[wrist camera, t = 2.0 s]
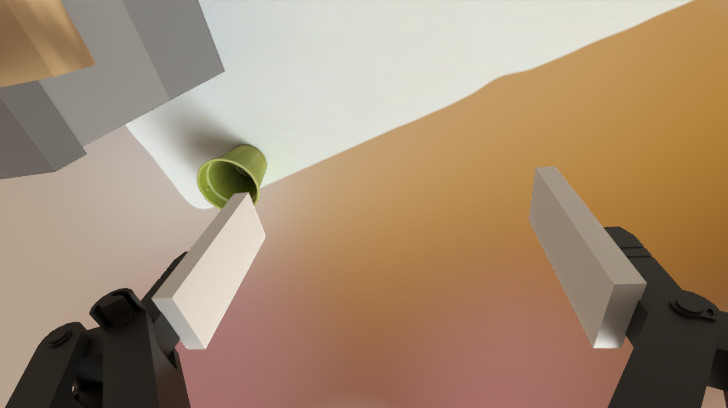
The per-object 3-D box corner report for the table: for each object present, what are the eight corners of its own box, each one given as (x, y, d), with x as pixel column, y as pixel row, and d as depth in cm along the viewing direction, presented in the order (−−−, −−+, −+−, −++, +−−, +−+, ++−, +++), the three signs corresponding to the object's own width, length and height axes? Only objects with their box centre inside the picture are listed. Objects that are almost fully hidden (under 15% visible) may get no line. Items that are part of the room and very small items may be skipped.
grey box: (58, -41, 44) (-391, -62, 19) (174, -73, 41) (-181, -146, 16) (129, 92, 53) (-114, 194, 28) (229, 74, 50) (55, 171, 25)
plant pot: (287, 158, 57) (270, 184, 50) (261, 194, 61) (242, 223, 54) (236, 123, 54) (211, 146, 47) (213, 164, 59) (187, 190, 52)
